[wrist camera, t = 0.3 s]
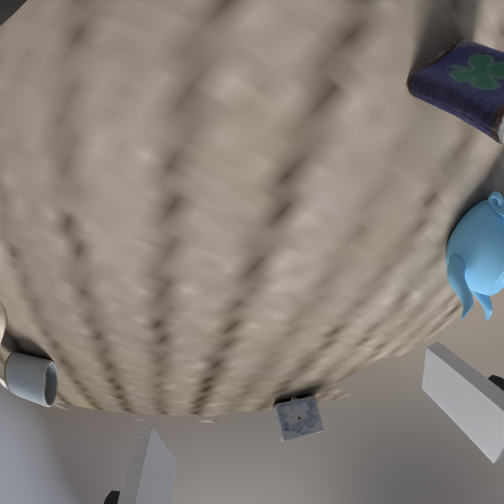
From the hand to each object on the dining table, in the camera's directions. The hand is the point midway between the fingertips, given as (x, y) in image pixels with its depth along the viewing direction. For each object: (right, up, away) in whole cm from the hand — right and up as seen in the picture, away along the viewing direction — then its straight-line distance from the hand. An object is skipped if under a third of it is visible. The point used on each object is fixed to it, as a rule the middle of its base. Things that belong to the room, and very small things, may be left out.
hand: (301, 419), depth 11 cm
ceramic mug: (-37, -11, +22) cm, 44 cm away
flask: (+13, +22, +4) cm, 26 cm away
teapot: (+28, +10, +19) cm, 35 cm away
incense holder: (+8, -29, +50) cm, 58 cm away
